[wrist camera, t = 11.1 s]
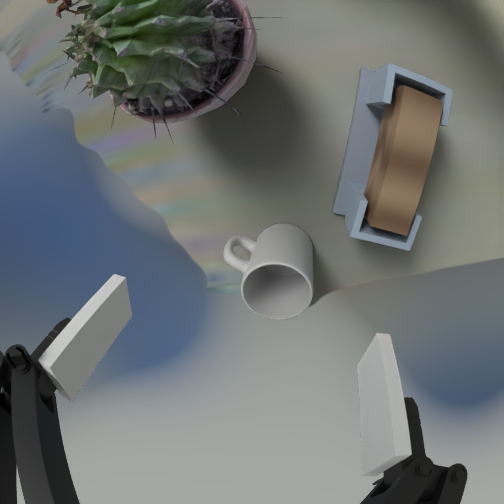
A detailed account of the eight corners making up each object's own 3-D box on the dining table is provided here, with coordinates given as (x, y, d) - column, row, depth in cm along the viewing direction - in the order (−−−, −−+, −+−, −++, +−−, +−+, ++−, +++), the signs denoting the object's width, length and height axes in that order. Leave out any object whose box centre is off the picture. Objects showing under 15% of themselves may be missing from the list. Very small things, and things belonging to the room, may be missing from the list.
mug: (323, 239, 39) (328, 282, 30) (295, 281, 43) (291, 330, 34) (248, 201, 38) (228, 234, 29) (226, 248, 43) (203, 290, 33)
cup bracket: (360, 68, 27) (377, 55, 19) (429, 92, 26) (461, 90, 18) (331, 209, 37) (338, 238, 29) (396, 225, 36) (416, 256, 28)
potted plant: (245, 158, 36) (150, 240, 14) (134, 96, 33) (-14, 116, 12) (319, 50, 27) (344, -54, 5) (194, -6, 24) (78, -81, 3)
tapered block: (387, 89, 24) (404, 85, 19) (421, 102, 24) (443, 101, 19) (360, 206, 32) (370, 226, 27) (392, 215, 31) (406, 235, 26)
